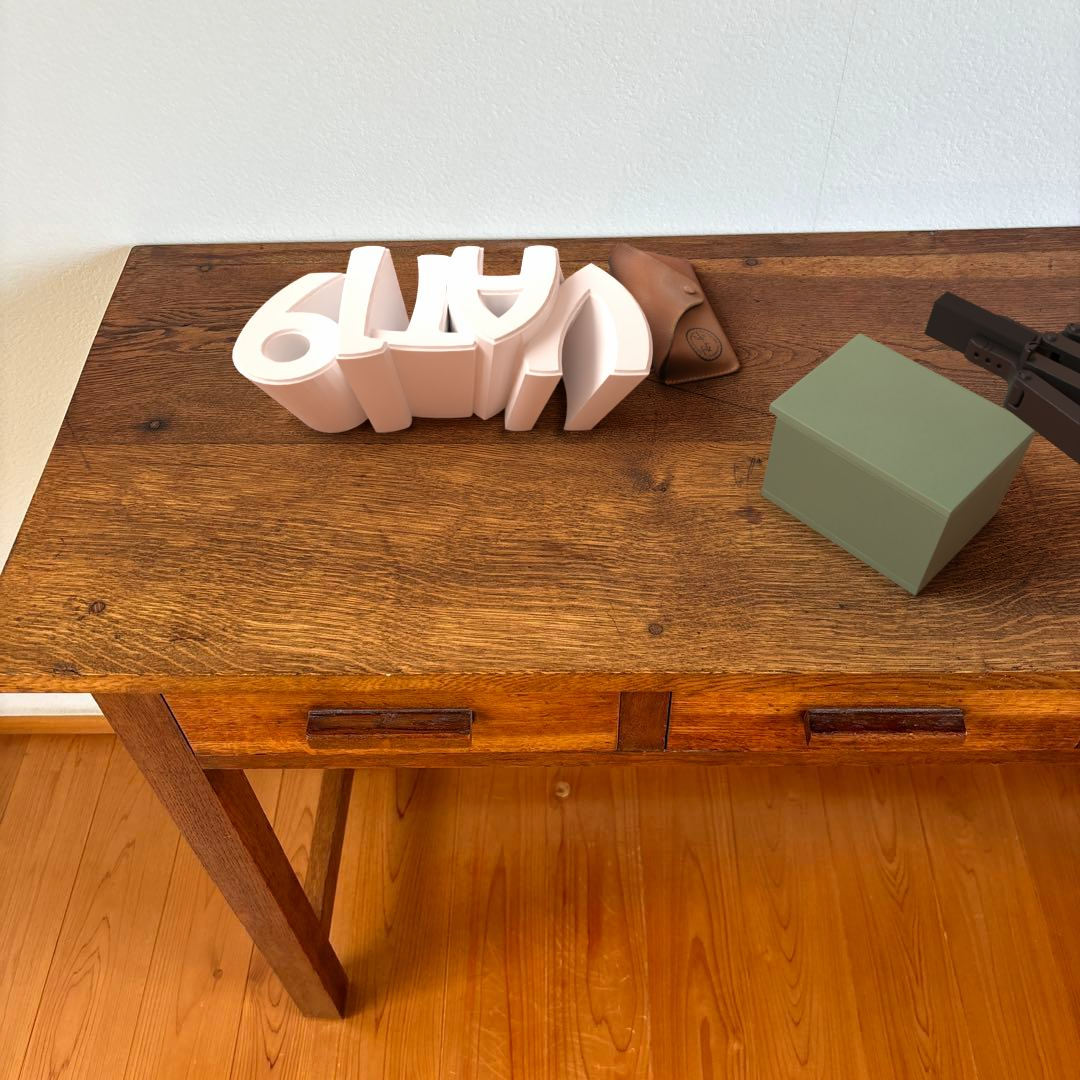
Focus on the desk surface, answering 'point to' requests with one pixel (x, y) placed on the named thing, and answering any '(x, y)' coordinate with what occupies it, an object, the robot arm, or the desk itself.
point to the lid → (903, 423)
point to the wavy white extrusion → (446, 343)
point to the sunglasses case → (674, 316)
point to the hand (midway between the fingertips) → (935, 312)
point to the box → (874, 508)
